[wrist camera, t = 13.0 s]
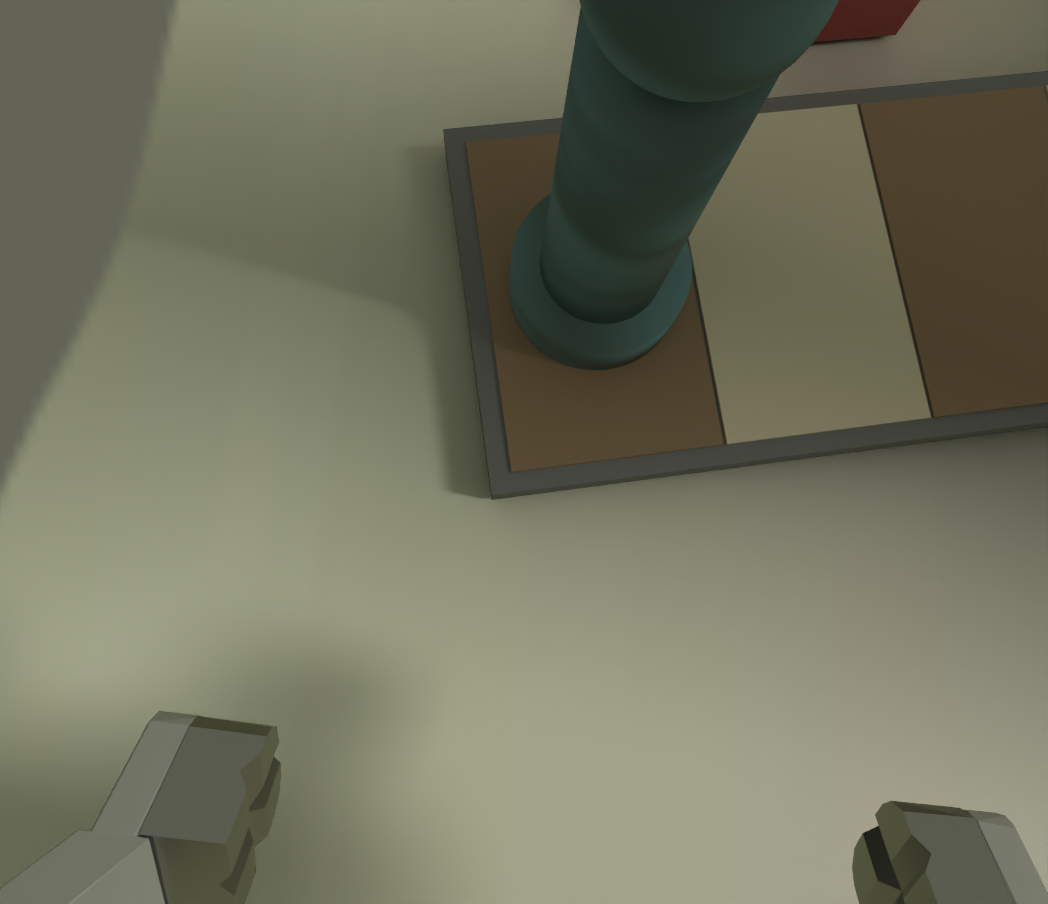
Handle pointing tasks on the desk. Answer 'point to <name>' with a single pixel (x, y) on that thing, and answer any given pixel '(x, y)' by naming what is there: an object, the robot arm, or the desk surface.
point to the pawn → (643, 165)
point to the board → (789, 292)
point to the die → (866, 19)
